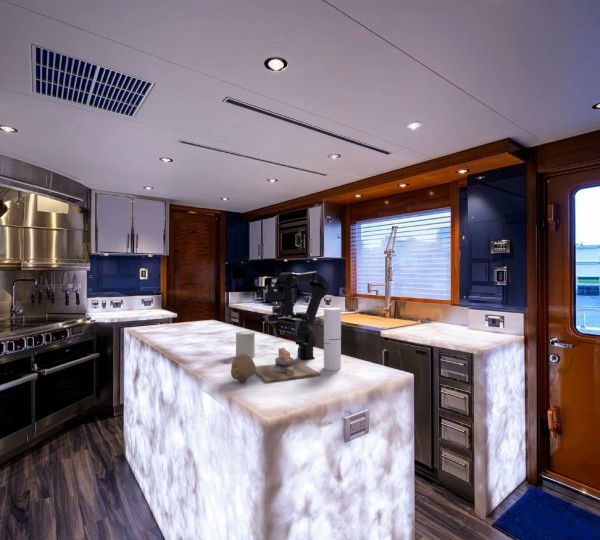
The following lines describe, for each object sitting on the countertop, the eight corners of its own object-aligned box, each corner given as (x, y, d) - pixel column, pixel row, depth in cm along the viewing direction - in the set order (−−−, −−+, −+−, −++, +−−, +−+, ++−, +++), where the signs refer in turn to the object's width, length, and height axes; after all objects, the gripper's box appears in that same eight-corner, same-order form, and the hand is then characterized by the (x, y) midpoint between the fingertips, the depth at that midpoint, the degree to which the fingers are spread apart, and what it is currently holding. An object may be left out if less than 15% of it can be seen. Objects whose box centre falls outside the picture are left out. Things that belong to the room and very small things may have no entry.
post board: (299, 363, 157) (299, 356, 157) (319, 375, 139) (319, 367, 139) (250, 369, 148) (250, 361, 148) (266, 383, 130) (266, 374, 130)
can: (233, 355, 173) (233, 330, 173) (251, 353, 177) (251, 329, 177) (238, 359, 164) (238, 333, 164) (257, 357, 168) (257, 332, 168)
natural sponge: (259, 379, 134) (259, 352, 134) (249, 386, 126) (249, 358, 126) (238, 377, 137) (238, 351, 137) (226, 384, 128) (226, 356, 128)
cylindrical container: (340, 370, 146) (340, 309, 146) (322, 369, 147) (322, 309, 147) (341, 366, 153) (341, 308, 153) (325, 365, 154) (325, 307, 154)
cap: (295, 366, 140) (295, 351, 140) (278, 368, 138) (278, 353, 138) (289, 361, 149) (289, 347, 149) (272, 362, 146) (272, 348, 146)
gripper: (298, 299, 168) (298, 332, 168) (261, 300, 160) (261, 335, 160) (309, 301, 158) (309, 336, 158) (269, 302, 150) (269, 339, 150)
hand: (286, 336), depth 157 cm, fingers open, 9 cm apart
